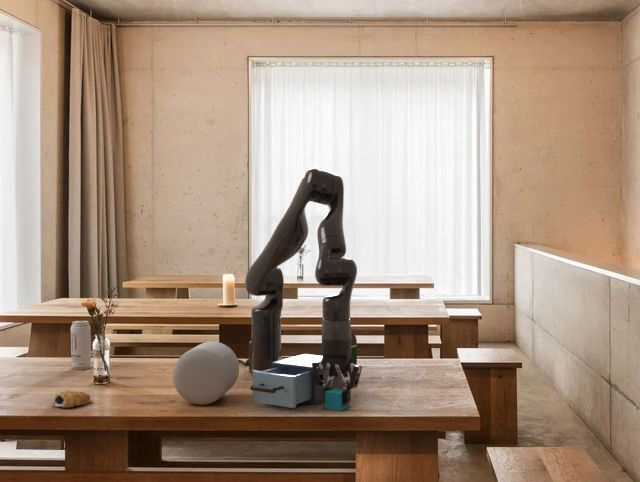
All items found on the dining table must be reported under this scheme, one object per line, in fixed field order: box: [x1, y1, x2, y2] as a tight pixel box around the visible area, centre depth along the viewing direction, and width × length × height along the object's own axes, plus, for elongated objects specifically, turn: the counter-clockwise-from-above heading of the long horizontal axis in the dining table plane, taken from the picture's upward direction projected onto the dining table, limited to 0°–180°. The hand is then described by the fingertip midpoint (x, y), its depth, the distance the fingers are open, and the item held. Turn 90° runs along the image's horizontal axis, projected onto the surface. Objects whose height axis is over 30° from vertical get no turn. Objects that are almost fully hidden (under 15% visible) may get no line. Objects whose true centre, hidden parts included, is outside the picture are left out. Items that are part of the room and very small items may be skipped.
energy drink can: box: [70, 320, 92, 371], centre depth 264 cm, size 6×6×15 cm
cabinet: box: [272, 353, 344, 405], centre depth 224 cm, size 16×14×10 cm
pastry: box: [51, 390, 91, 409], centre depth 214 cm, size 9×7×4 cm
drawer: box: [249, 367, 313, 409], centre depth 214 cm, size 20×13×8 cm, turn 149°
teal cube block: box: [324, 388, 350, 412], centre depth 210 cm, size 4×4×4 cm
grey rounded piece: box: [159, 341, 240, 406], centre depth 223 cm, size 19×15×25 cm
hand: (336, 403), depth 210 cm, fingers closed on teal cube block, 4 cm apart
